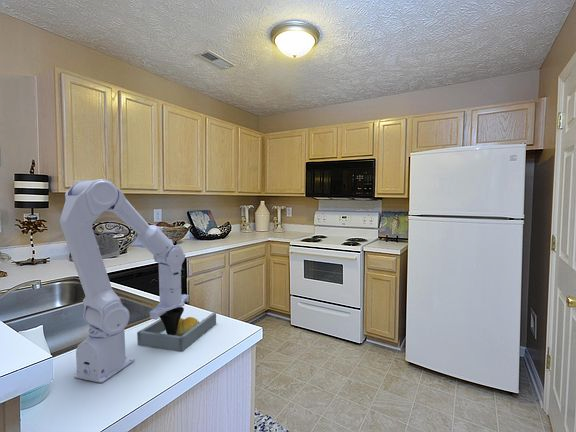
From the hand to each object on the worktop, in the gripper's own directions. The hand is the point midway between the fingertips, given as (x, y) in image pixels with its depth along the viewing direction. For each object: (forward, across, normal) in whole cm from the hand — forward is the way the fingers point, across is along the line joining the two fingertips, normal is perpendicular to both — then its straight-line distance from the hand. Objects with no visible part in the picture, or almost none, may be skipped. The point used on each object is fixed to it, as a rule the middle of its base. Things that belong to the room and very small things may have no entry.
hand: (171, 334), depth 85 cm
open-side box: (+1, +4, 0) cm, 4 cm away
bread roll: (+2, +6, 0) cm, 6 cm away
